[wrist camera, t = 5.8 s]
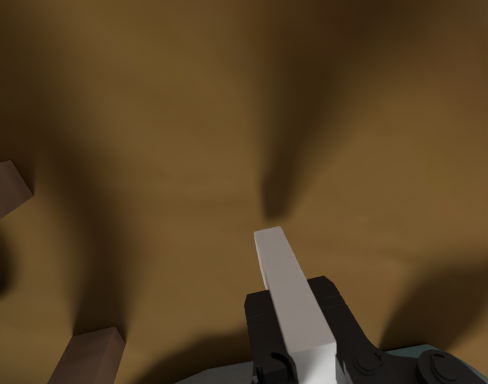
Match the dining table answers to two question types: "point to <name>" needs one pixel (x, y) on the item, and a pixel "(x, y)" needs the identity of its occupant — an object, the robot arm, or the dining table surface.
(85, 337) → the bridge
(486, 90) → the dining table surface
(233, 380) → the pie
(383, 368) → the robot arm
